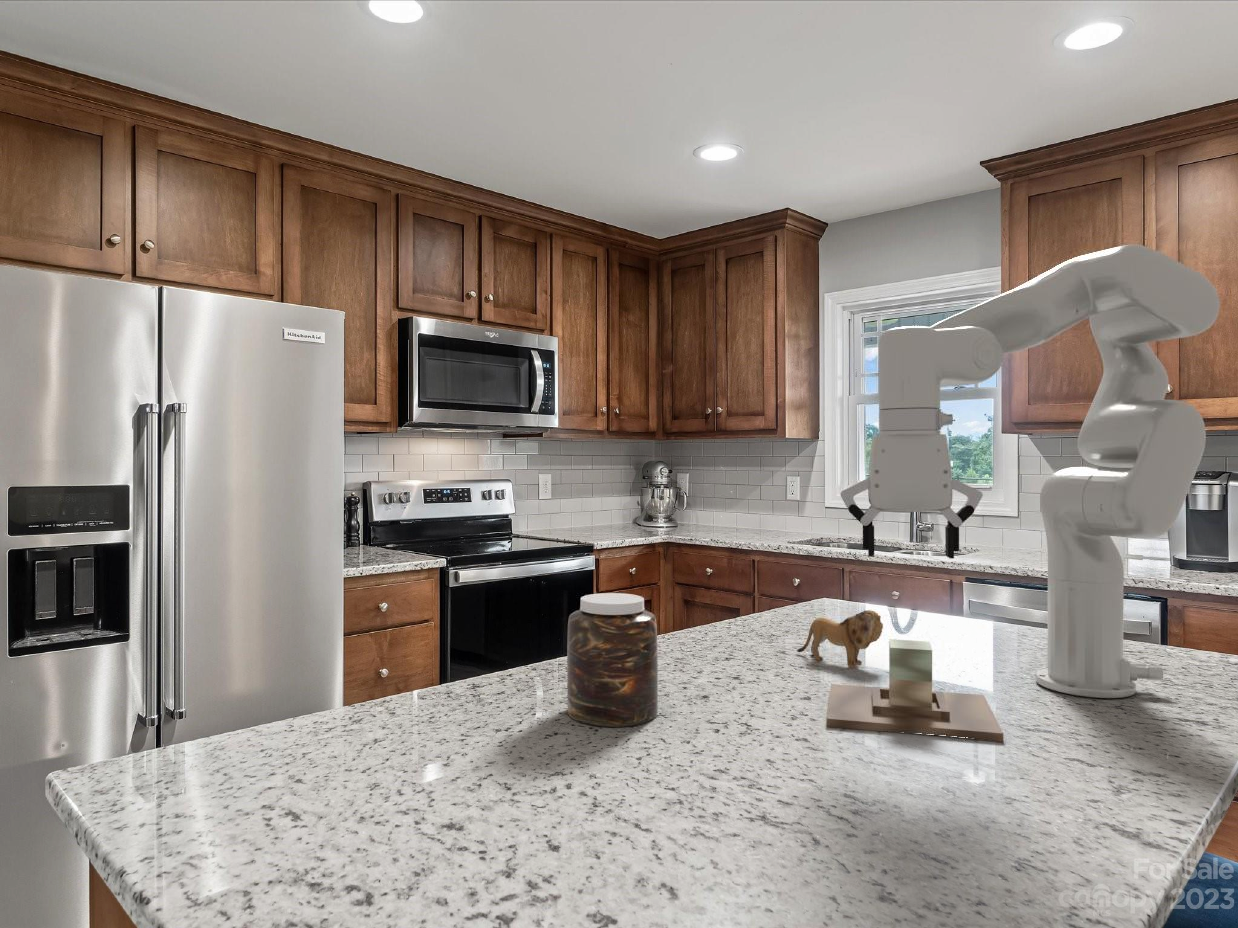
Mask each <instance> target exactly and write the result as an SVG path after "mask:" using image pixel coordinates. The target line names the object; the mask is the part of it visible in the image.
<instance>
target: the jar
mask: <svg viewBox="0 0 1238 928" xmlns="http://www.w3.org/2000/svg"><path fill="white" fill-rule="evenodd" d="M567 622H568V623H567V642H566V643H567V645H566V648H567V649H566V650H567V653H566V656H567V657H566V658H567V659H566V660H567V661H566V665H567V666H566V669H567V670H566V672H567V673H566V674H567V678H566V679H567V683H566V684H567V685H566V686H567V689H566V691H567V693H566V695H567V696H566V697H567V698H566V699H567V701H566V702H567V714H568V716H569V717H570V719H572V720H575V721H576V722H578V723H582V724H585V725H589V726H590V725H591V726H596V727H602V728H603V727H605V728H606V727H607V728H621V727H633V726H638V725H643V724H646V723H649V722H651V721H653V720H654V719H656V717H657V716H658V708H659V707H658V703H659V702H658V701H659V699H658V697H659V696H658V693H659V692H658V690H659V689H658V687H659V685H658V684H659V683H658V678H659V677H658V675H659V669H658V665H659V663H658V660H659V659H658V658H659V657H658V655H659V654H658V626H657V623H658V622H657V618H656V615H655V614H653V613H652V612H650V611H648V610H646V609H645V598H644V597H643V596H641V595H637V594H632V593H622V592H621V593H620V592H618V593H617V592H603V593H602V592H601V593H593V594H592V593H591V594H585V595H584V596H581V597H580V607H579V610H575V611H573V612H572V613H570V614H569V616H568V621H567Z"/></svg>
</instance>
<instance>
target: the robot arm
mask: <svg viewBox="0 0 1238 928" xmlns="http://www.w3.org/2000/svg"><path fill="white" fill-rule="evenodd" d="M1220 304H1221V303H1220V297H1219V294H1218V292H1217V290H1216V288H1215V286H1214V284H1213V283H1212V282H1211V281H1209V279H1208V278H1206V277H1205V275H1203V274H1201V273H1200V272H1197V271H1196V270H1194V269H1192V268H1191V267H1188V266H1187V265H1186V264H1183V263H1181V262H1180V261H1178V260H1176V259H1174V258H1173V257H1171V256H1169V255H1167V254H1165V253H1162V252H1161V251H1159V250H1157V249H1153V248H1152V247H1148V246H1145V245H1140V244H1134V243H1131V244H1124V245H1119V246H1116V247H1112V248H1108V249H1103V250H1099V251H1096V252H1091V253H1087V254H1083V255H1080V256H1077V257H1073V258H1072V259H1069V260H1067V261H1064V262H1062V263H1061V264H1058V265H1056V266H1055V267H1053V268H1051V269H1050V270H1048V271H1046V272H1044V273H1041V274H1039V275H1038V276H1037V277H1034V278H1032V279H1031V280H1029V281H1027V282H1025V283H1023V284H1021V285H1019V286H1018V287H1015V288H1014V289H1011V290H1009V291H1006V292H1004V293H1002V294H999V295H998V296H995V297H993V298H990V299H988V300H986V301H984V302H983V303H980V304H977V305H976V306H973V307H971V308H968V309H965V310H963V311H962V312H959V313H957V314H954V315H952V316H950V317H948V318H947V317H946V319H943V320H941V321H938V322H937V323H935V324H933V325H931V326H930V327H929V326H923V325H922V326H921V325H920V326H919V325H918V326H917V325H915V326H914V325H912V326H910V325H909V326H901V327H900V326H899V327H894V328H890V329H887V330H885V331H884V332H882V334H881V335H880V336H879V339H878V435H875V434H874V435H872V440H871V444H870V451H869V462H868V463H869V464H868V465H869V466H868V477H867V478H865V479H863V480H862V481H859V482H857V483H855V484H853V485H851V486H849V487H847V488H845V489H843V490H841V492H840V498H841V499H842V501H843V503H844V504H845V506H846V508H847V510H848V513H849V514H851V515H852V516H853V517H854V518H855V519H856V520H857V521H858V522H859V523H860V524H861V525H862V550H867V551H868V552H867V553H868V554H867V555H868V557H873V556H875V525H874V524H873V520H874V519H875V518H876V517H877V516H878V515H879V514H880V513H881V512H895V513H896V512H897V513H898V512H900V513H901V512H903V513H904V512H909V513H911V512H913V513H914V512H915V513H916V512H917V513H918V512H919V513H921V512H922V513H926V512H927V513H938V512H940V513H941V515H942V516H943V517H944V518H945V519H946V520H947V525H945V527H944V528H945V531H944V532H945V533H944V534H945V536H944V537H945V543H944V544H945V547H944V549H945V550H944V551H945V553H944V554H945V556H946V557H947V558H948V559H951V560H952V559H955V552H960V527H961V526H962V524H963V523H965V522H966V521H967V519H969V518H970V517H971V516H972V515H973V514H974V512H975V510H976V508H977V507H978V505H979V504H980V501H981V500H982V498H983V496H984V495H983V493H982V491H980V490H978V489H976V488H975V487H971V486H969V485H968V484H965V483H963V482H962V481H959V480H957V479H956V478H953V476H952V463H951V455H950V450H949V448H950V447H949V444H948V439H947V434H945V433H942V434H941V430H942V428H944V427H945V426H947V425H948V426H949V425H953V423H954V422H953V418H954V417H953V414H949V413H948V414H947V413H946V412H945V413H944V411H942V409H941V388H946V387H961V386H970V385H977V384H980V383H983V382H985V381H987V380H989V379H990V378H992V377H993V376H994V375H995V374H997V373H998V371H999V370H1000V368H1001V366H1002V364H1003V361H1004V356H1005V355H1007V354H1013V353H1018V352H1022V351H1025V350H1028V349H1031V348H1034V347H1037V346H1039V345H1042V344H1045V343H1047V342H1048V341H1050V340H1052V339H1054V338H1055V337H1057V336H1058V335H1060V334H1061V333H1062V334H1063V332H1065V331H1067V330H1069V329H1071V328H1072V327H1074V326H1076V325H1078V324H1079V323H1081V322H1082V321H1085V320H1086V319H1088V318H1089V328H1090V330H1091V333H1092V336H1093V338H1094V341H1095V343H1096V345H1097V347H1098V351H1099V354H1100V357H1101V361H1102V364H1103V374H1102V378H1101V381H1100V383H1099V385H1098V389H1097V391H1096V393H1095V395H1094V398H1093V400H1092V401H1091V404H1090V407H1089V409H1088V410H1087V413H1086V416H1085V419H1083V422H1082V425H1081V428H1080V431H1079V433H1078V436H1077V451H1078V452H1079V455H1080V457H1082V459H1083V460H1084V461H1086V462H1087V463H1089V464H1092V465H1095V466H1073V467H1067V468H1063V469H1060V470H1058V471H1056V472H1054V473H1052V474H1050V475H1049V476H1048V478H1046V480H1045V482H1043V484H1042V487H1041V490H1040V495H1039V503H1040V510H1041V516H1042V521H1043V524H1044V529H1045V536H1046V544H1047V545H1046V546H1047V547H1046V549H1047V639H1046V640H1047V642H1046V644H1047V653H1046V654H1047V663H1046V665H1047V667H1046V668H1042V669H1039V670H1038V671H1036V672H1035V682H1036V683H1037V684H1039V685H1040V686H1041V687H1044V688H1046V689H1049V690H1051V691H1055V692H1059V693H1063V694H1068V695H1071V696H1072V695H1073V696H1077V697H1085V698H1086V697H1087V698H1097V699H1118V698H1120V699H1121V698H1127V697H1131V696H1133V695H1134V694H1136V693H1137V684H1136V683H1135V682H1137V680H1138V679H1144V680H1150V681H1160V682H1161V681H1163V679H1164V671H1163V668H1162V666H1160V665H1159V666H1158V665H1147V664H1146V663H1141V662H1139V663H1138V662H1131V661H1130V660H1129V659H1127V658H1126V657H1125V656H1124V587H1125V586H1124V581H1125V579H1124V578H1125V577H1124V575H1125V572H1124V570H1125V569H1124V562H1123V560H1122V556H1121V554H1120V551H1119V550H1118V548H1117V546H1116V544H1115V542H1114V540H1113V538H1112V537H1119V538H1127V539H1128V538H1129V539H1144V540H1145V539H1148V540H1149V539H1155V538H1158V537H1160V536H1163V535H1164V534H1166V533H1167V532H1168V531H1169V530H1170V529H1171V528H1172V526H1173V525H1174V523H1176V520H1177V518H1178V516H1179V515H1180V512H1181V510H1182V508H1183V505H1184V503H1185V500H1186V498H1187V495H1188V492H1189V490H1190V487H1191V485H1192V483H1193V481H1194V478H1195V476H1196V473H1197V470H1198V469H1199V465H1200V463H1201V461H1202V457H1203V455H1204V453H1205V452H1204V451H1205V447H1206V439H1207V434H1206V433H1207V431H1206V425H1205V422H1204V419H1203V415H1202V414H1201V413H1200V412H1199V411H1198V409H1197V408H1196V407H1195V406H1193V405H1192V404H1190V403H1188V402H1185V401H1182V400H1177V399H1165V397H1166V395H1167V392H1168V389H1169V385H1170V384H1169V375H1168V371H1167V369H1166V368H1165V366H1164V365H1163V363H1162V362H1161V360H1160V359H1159V358H1158V357H1157V355H1156V354H1155V353H1154V351H1153V349H1152V347H1151V346H1150V344H1149V343H1152V342H1158V341H1159V342H1160V341H1167V340H1174V339H1175V340H1176V339H1183V338H1188V337H1194V336H1198V335H1199V334H1203V333H1204V332H1205V331H1207V330H1208V329H1209V328H1211V327H1212V326H1213V324H1214V323H1215V322H1216V320H1217V319H1218V315H1219V313H1220V307H1221V305H1220ZM866 490H867V492H868V495H867V496H868V502H869V505H870V506H869V507H868V508H867V509H866V511H865V512H864V511H863V510H862V509H861V508H860V507H859V506H858V505H857V503H856V501H855V499H854V498H855V496H856V495H858V494H861V493H862V492H864V491H866ZM953 490H954V491H956V492H958V493H960V494H962V495H965V496H966V497H967V499H966V501H965V504H964V505H963V506H962V507H961V508H960V509H959V510H958V511H957V512H955V511H954V509H952V508H951V506H952V504H953Z"/></svg>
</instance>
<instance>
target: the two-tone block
mask: <svg viewBox="0 0 1238 928" xmlns="http://www.w3.org/2000/svg"><path fill="white" fill-rule="evenodd" d="M888 643H889V644H888V645H889V646H888V647H889V657H888V659H889V661H888V662H889V665H888V666H889V667H888V668H889V670H888V679H889V681H888V682H889V683H888V688H889V702H890V705H898V706H911V707H924V708H932V691H933V649H932V645H931V642H930V641H928V640H926V641H924V640H909V639H908V640H907V639H889V642H888Z"/></svg>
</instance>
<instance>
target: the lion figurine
mask: <svg viewBox="0 0 1238 928" xmlns="http://www.w3.org/2000/svg"><path fill="white" fill-rule="evenodd" d="M883 629H884V623H882V621H881V615H879V613H877V612H876V611H874V610H871V609H870V610H869V609H868V610H863V611H861V612H859V613H856V614H855V615H853V616H852V615H851V616H849V617H847V618H845V619H844V620H843V621H841V622H835V621H832V620H831V619H829V618H827V617H817V618H816V619H814V620H813V621H812V623H811V625H810V627H809V632H808V635H807V638H806V641H805V644H804V645H803V646H801V647H800V648H798V649H796V652H797V653H803V652H804V651H805V650H807V647H808V646H809V645H810V642H811V638H812V636H813V640H812V642H811V645H810V646H811V647H810V651H811V655H813V658H814V661H816V662H821V661H823V657H822V656H820V651H819V647H820V645H821V644H822V643H823V642H825V641H826V640H827V641H828V642H829V643H831V645H832V644H833V645H834V646H837V647H843V648H844V647H845V652H846V657H847V658H846V659H847V667H848V668H850V669H856V668H857V665H858V666H859V665H862V664H863V663H862V661H861V660H860V659H858V656H859V653H860V650H866V649H867V648H869V646H870V645H871V643H874V642H875V643H876V642H877V641H878V640H879V639H880V637H881V636H882V632H883Z"/></svg>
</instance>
